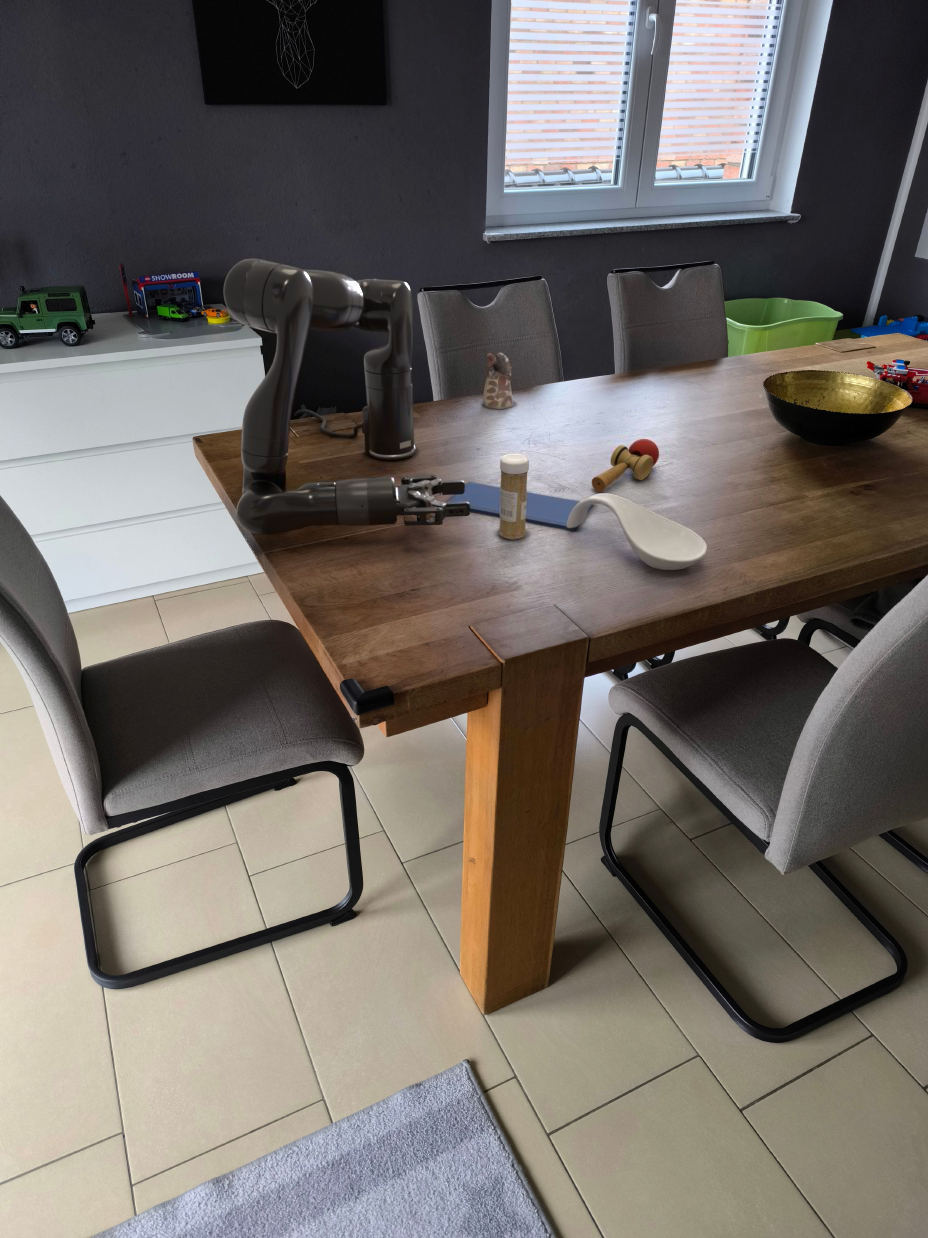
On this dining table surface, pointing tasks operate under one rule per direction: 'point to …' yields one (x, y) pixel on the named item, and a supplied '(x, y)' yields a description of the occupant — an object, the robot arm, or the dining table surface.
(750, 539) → the dining table surface
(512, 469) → the spice jar
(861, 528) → the dining table surface
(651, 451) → the kendama
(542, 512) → the blue flat rectangular slab
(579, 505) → the spoon rest
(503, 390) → the figurine
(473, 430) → the dining table surface
